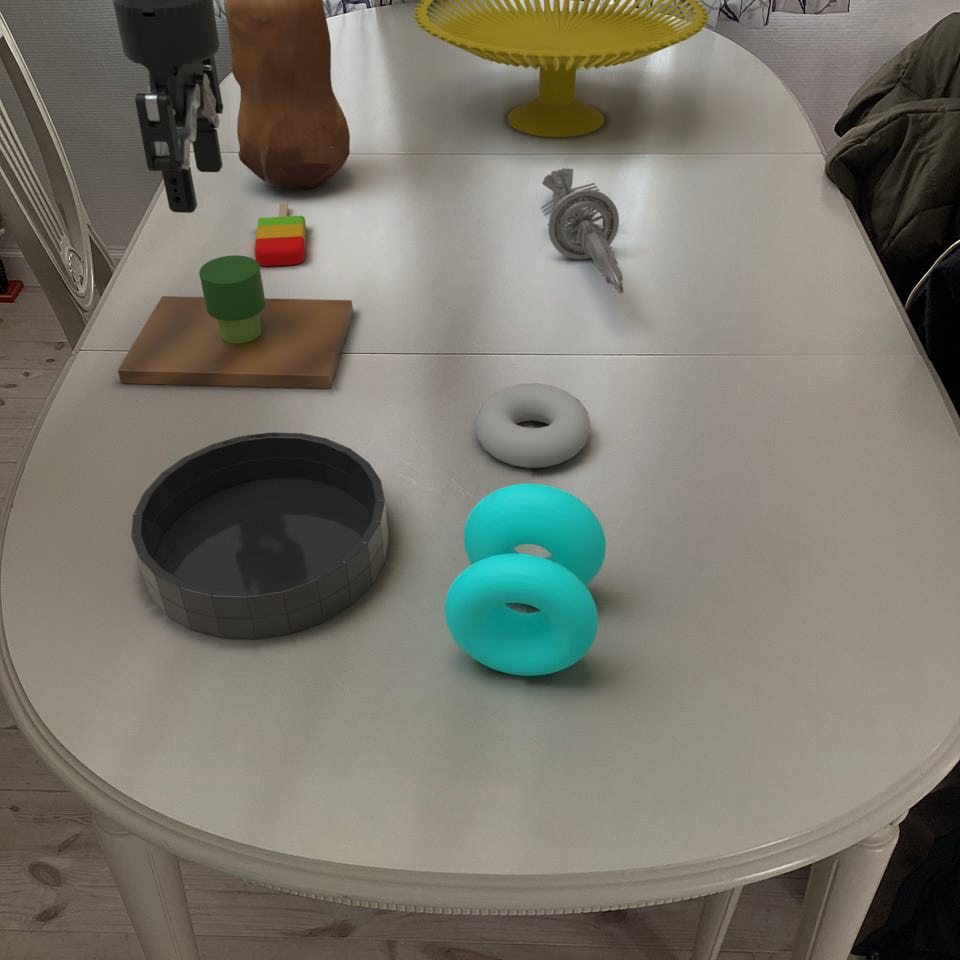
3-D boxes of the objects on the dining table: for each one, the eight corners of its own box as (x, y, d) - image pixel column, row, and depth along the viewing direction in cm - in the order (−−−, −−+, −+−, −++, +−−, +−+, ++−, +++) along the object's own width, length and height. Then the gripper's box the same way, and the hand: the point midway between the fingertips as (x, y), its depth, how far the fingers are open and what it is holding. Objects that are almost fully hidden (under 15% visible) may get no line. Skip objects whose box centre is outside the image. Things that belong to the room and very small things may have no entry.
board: (120, 383, 96) (117, 370, 95) (164, 308, 107) (161, 295, 106) (330, 388, 95) (328, 375, 94) (353, 312, 106) (352, 299, 105)
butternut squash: (323, 155, 138) (300, -47, 122) (371, 188, 130) (354, -25, 114) (228, 179, 132) (191, -30, 116) (272, 216, 124) (239, -5, 108)
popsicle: (255, 268, 113) (252, 253, 112) (262, 210, 125) (260, 196, 124) (305, 265, 114) (303, 250, 113) (307, 208, 125) (305, 193, 124)
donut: (564, 489, 84) (605, 422, 90) (566, 457, 81) (608, 390, 88) (455, 458, 87) (503, 395, 94) (454, 427, 85) (502, 364, 92)
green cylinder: (205, 347, 98) (191, 282, 94) (220, 317, 102) (208, 254, 98) (263, 349, 98) (251, 284, 93) (275, 319, 102) (265, 255, 98)
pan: (110, 636, 72) (94, 592, 69) (184, 472, 86) (173, 429, 83) (370, 646, 71) (364, 601, 68) (401, 478, 85) (398, 435, 82)
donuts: (602, 586, 75) (612, 482, 68) (591, 693, 67) (601, 587, 61) (468, 571, 76) (466, 468, 70) (443, 674, 69) (438, 569, 62)
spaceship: (569, 270, 96) (647, 234, 95) (514, 162, 125) (573, 134, 124) (597, 338, 100) (672, 305, 99) (537, 219, 129) (595, 192, 128)
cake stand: (544, 202, 126) (548, 79, 116) (362, 113, 150) (354, 4, 141) (755, 125, 145) (773, 13, 136) (564, 57, 170) (568, -42, 160)
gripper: (142, -32, 85) (178, 158, 95) (81, 15, 74) (129, 224, 84) (231, -31, 84) (258, 160, 95) (183, 17, 73) (219, 226, 84)
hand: (197, 190), depth 89 cm, fingers open, 8 cm apart
